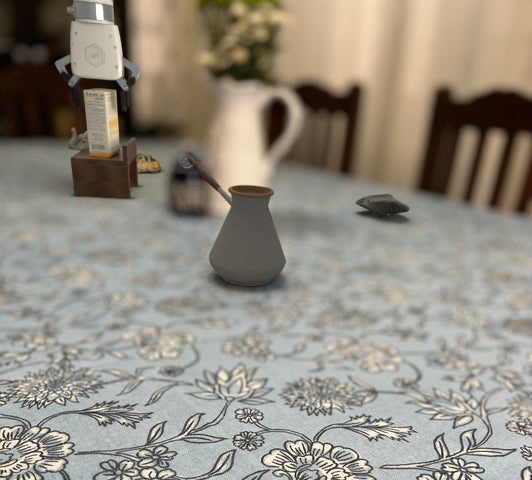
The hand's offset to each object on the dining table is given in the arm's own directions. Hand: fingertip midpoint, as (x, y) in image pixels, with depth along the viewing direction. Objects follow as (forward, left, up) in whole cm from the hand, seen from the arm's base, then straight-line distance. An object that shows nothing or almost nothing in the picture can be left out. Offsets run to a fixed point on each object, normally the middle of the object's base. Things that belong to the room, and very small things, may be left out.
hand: (101, 109), depth 112 cm
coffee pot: (+27, -49, -18) cm, 59 cm away
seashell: (+63, -11, -18) cm, 66 cm away
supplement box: (0, 0, -10) cm, 10 cm away
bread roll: (+4, +28, -18) cm, 33 cm away
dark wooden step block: (0, 0, -17) cm, 17 cm away
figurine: (-5, +13, -18) cm, 23 cm away
